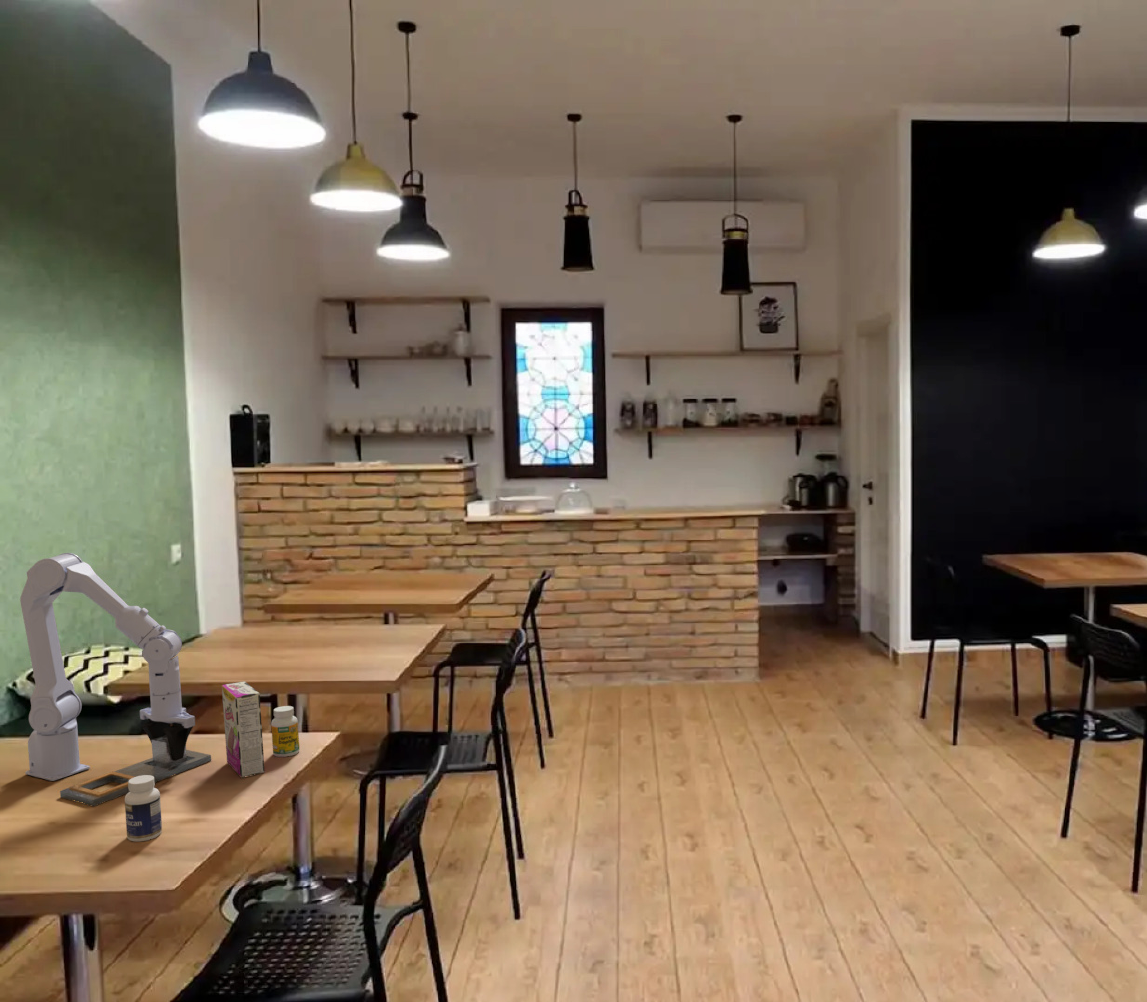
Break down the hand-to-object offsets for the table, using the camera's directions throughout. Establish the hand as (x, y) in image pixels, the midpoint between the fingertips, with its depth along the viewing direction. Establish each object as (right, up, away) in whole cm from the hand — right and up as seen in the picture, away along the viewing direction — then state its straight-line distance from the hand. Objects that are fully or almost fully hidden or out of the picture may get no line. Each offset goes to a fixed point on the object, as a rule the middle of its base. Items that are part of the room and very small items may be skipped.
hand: (169, 757), depth 191 cm
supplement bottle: (+22, -1, +6) cm, 23 cm away
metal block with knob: (0, -2, 0) cm, 2 cm away
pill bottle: (+10, -4, -33) cm, 35 cm away
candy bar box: (+16, -2, -2) cm, 16 cm away
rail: (-3, -3, -6) cm, 7 cm away
